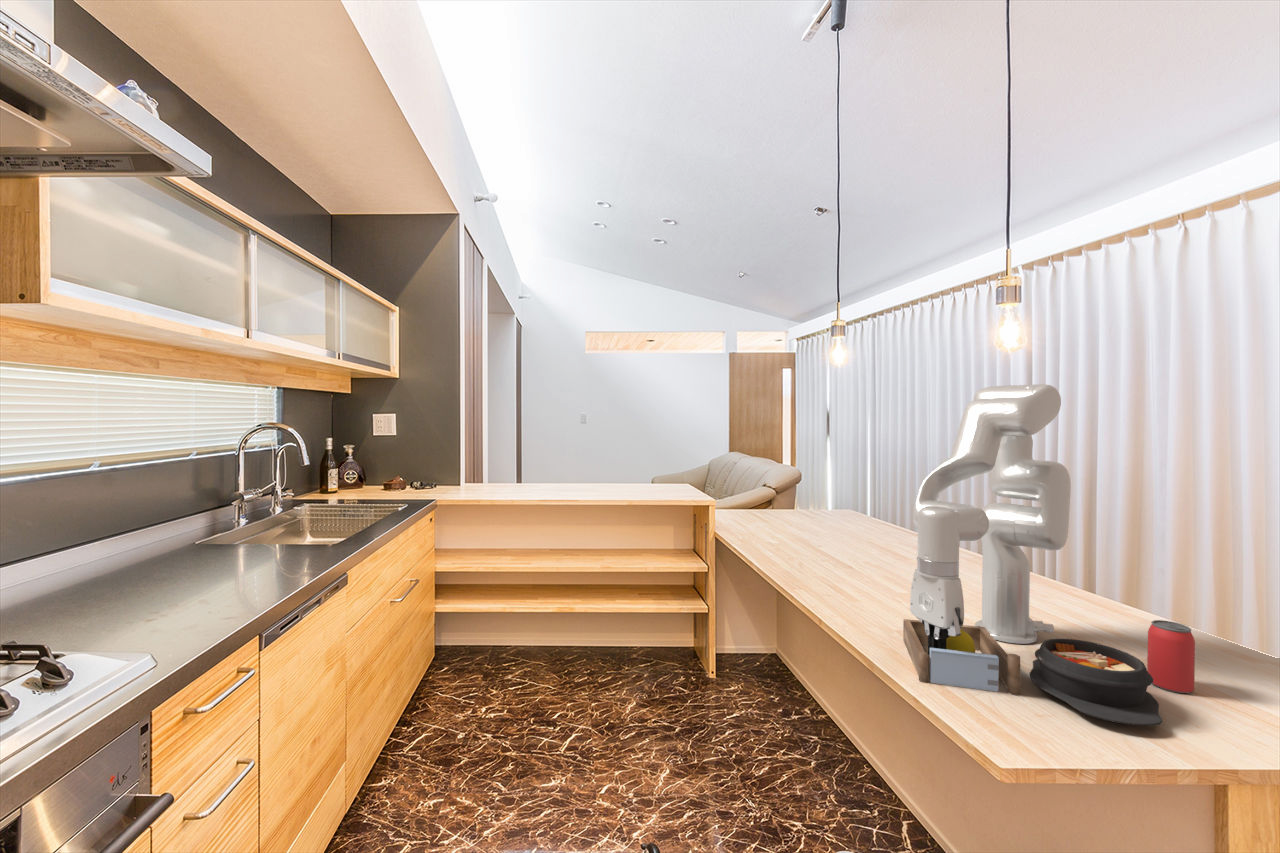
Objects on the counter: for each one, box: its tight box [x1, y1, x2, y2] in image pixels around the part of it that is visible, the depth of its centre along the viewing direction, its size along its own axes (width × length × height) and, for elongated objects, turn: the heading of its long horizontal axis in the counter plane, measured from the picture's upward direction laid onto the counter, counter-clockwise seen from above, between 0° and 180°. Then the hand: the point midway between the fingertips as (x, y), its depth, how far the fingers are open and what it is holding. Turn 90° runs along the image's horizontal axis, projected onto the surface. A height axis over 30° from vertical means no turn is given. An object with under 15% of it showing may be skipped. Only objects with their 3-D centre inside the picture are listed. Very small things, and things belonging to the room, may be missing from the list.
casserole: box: [1029, 638, 1163, 727], centre depth 102 cm, size 25×19×8 cm
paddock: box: [902, 618, 1021, 696], centre depth 115 cm, size 17×22×7 cm
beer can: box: [1146, 619, 1196, 694], centre depth 106 cm, size 7×7×12 cm
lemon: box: [946, 629, 976, 653], centre depth 114 cm, size 6×6×8 cm
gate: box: [928, 648, 1000, 693], centre depth 106 cm, size 12×1×6 cm, turn 72°
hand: (936, 655), depth 112 cm, fingers closed
